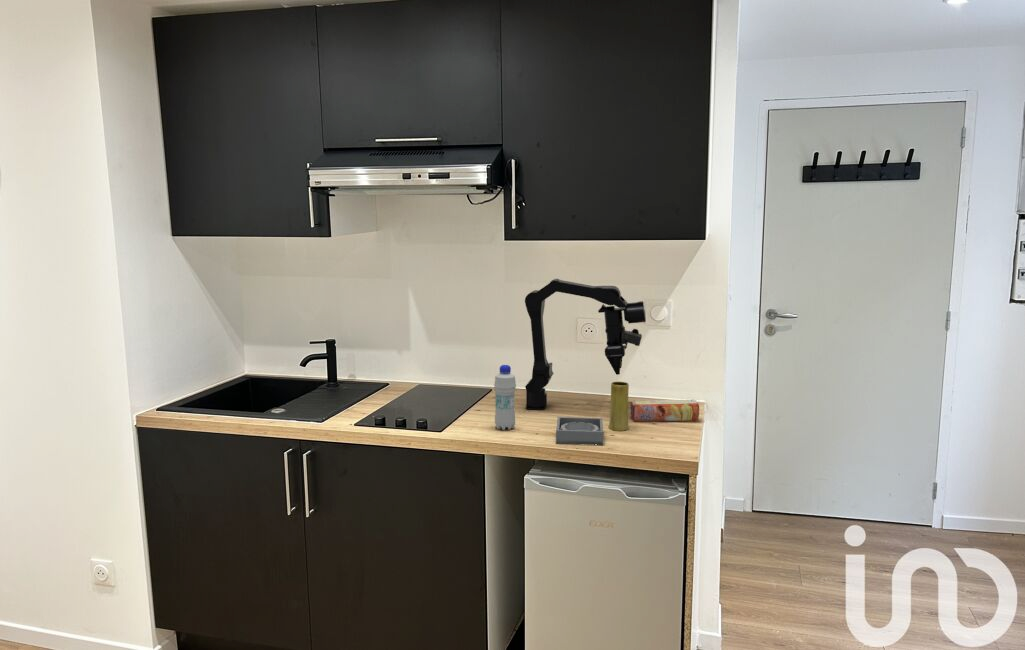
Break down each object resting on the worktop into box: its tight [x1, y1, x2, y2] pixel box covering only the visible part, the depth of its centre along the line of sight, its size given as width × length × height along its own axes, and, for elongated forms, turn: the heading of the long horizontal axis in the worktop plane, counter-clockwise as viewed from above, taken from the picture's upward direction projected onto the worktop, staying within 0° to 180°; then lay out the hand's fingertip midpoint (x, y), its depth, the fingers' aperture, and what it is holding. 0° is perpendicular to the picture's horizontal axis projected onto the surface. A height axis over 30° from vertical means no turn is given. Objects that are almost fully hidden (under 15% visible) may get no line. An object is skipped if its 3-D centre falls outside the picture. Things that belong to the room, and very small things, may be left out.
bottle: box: [493, 364, 517, 431], centre depth 231 cm, size 7×7×20 cm
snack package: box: [630, 399, 700, 422], centre depth 242 cm, size 21×7×7 cm, turn 90°
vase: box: [608, 381, 630, 432], centre depth 232 cm, size 6×6×14 cm
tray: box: [555, 416, 604, 446], centre depth 224 cm, size 14×14×4 cm
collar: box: [561, 422, 598, 431], centre depth 224 cm, size 11×11×2 cm
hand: (618, 371), depth 248 cm, fingers open, 9 cm apart
